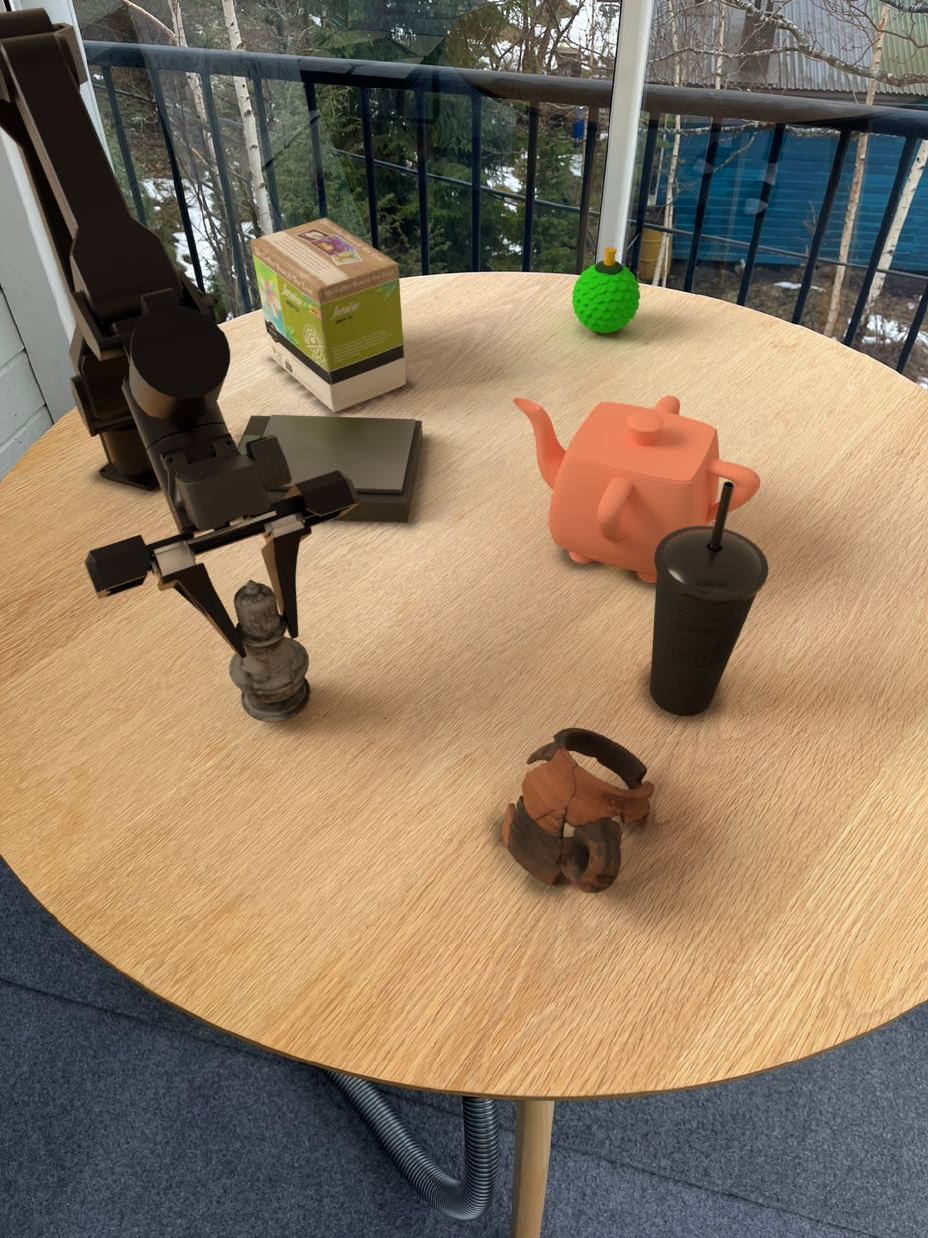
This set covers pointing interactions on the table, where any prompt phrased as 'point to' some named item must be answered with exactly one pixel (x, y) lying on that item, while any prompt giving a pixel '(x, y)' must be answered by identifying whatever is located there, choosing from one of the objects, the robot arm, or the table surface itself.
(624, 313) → the ornament
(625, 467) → the teapot
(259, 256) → the tea box
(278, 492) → the scale
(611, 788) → the pottery mug
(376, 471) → the scale pan
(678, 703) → the drinking cup
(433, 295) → the table surface
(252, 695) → the chess piece
